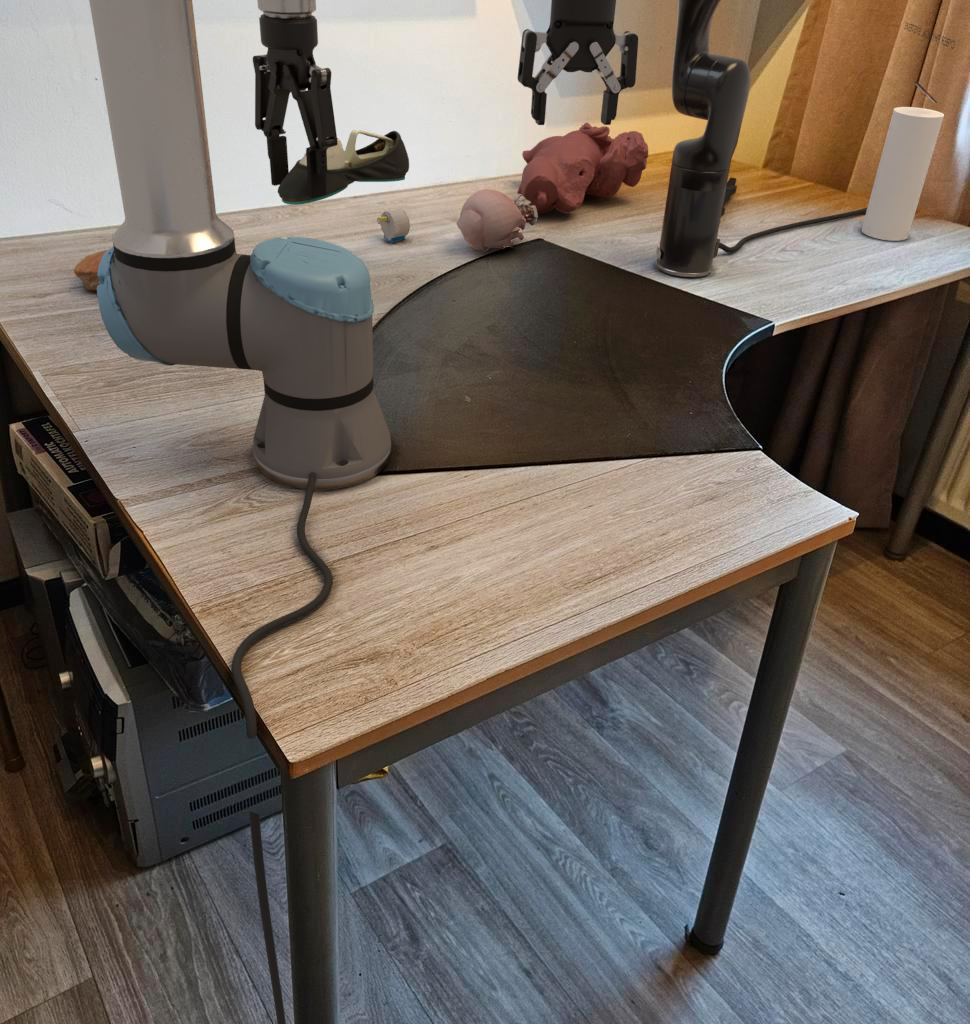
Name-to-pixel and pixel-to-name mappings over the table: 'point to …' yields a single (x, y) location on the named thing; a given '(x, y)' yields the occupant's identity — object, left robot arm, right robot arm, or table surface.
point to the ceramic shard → (89, 270)
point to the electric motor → (394, 225)
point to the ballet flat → (350, 167)
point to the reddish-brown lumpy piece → (581, 167)
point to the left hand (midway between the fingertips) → (298, 189)
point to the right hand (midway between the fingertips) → (572, 123)
